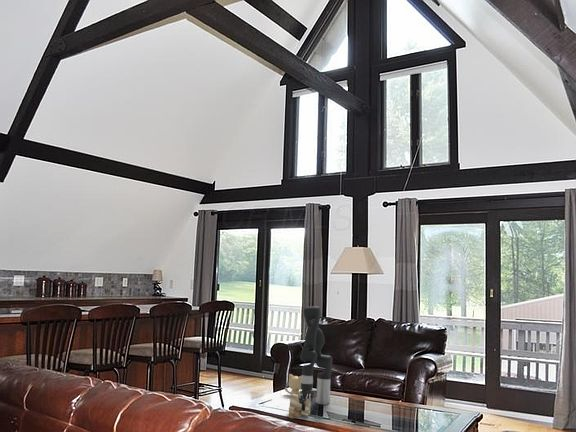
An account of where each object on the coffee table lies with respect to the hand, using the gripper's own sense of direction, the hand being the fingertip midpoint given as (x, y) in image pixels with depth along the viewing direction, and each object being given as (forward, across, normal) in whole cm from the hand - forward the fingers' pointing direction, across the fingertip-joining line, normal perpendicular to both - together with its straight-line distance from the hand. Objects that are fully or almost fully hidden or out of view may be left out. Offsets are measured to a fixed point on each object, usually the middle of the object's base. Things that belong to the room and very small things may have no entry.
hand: (305, 409), depth 327 cm
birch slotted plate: (+3, 0, -4) cm, 5 cm away
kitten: (+5, -40, -40) cm, 56 cm away
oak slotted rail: (+4, 0, -4) cm, 6 cm away
